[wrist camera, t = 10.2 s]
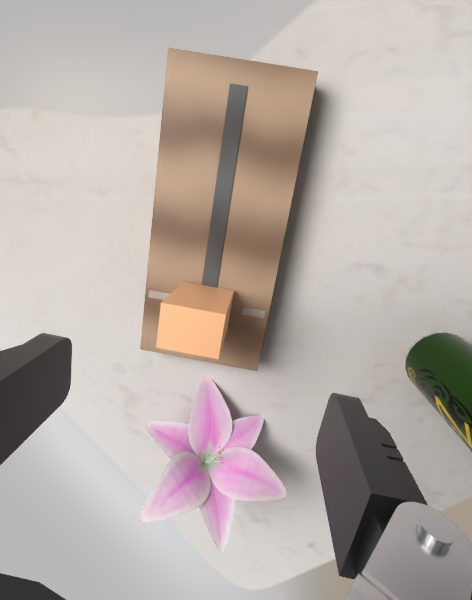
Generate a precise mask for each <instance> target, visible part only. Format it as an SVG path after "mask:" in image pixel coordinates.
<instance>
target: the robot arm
mask: <svg viewBox="0 0 472 600" xmlns="http://www.w3.org/2000/svg"><path fill="white" fill-rule="evenodd" d="M71 358H72V343H71V340H70V339H69V338H65V337H61V336H56V335H51V334H46V333H42V334H40V335H38V336H36V337H35V338H33V339H31V340H29V341H28V342H26V343H24V344H23V345H19V346H16V347H13V348H9V349H6V350H3V351H0V465H1V464H2V463H3V462H4V461H5V460H6V459H7V458H8V457H9V456H10V455H11V454H12V453H13V452H14V451H15V450H16V449H17V448H18V447H19V446H20V445H21V444H22V443H23V442H24V441H25V440H26V439H27V438H28V437H29V436H30V435H31V434H32V433H33V432H34V431H35V430H36V429H37V428H38V427H39V426H40V425H41V424H42V423H43V422H44V421H45V420H46V419H47V418H48V417H49V416H50V415H51V414H52V413H53V412H54V411H55V410H56V409H57V408H58V407H59V406H60V405H61V404H62V403H63V402H64V400H65V399H66V397H67V395H68V392H69V389H70V384H71ZM316 459H317V464H318V470H319V475H320V480H321V485H322V490H323V495H324V500H325V505H326V511H327V516H328V521H329V526H330V531H331V536H332V541H333V546H334V552H335V557H336V561H337V567H338V572H339V575H340V576H342V577H346V578H351V579H355V580H354V582H353V584H352V586H351V588H350V589H349V591H348V593H347V595H346V597H345V598H344V600H472V544H471V542H470V540H469V539H468V538H467V537H466V535H465V534H464V533H463V532H462V530H460V528H459V527H458V526H457V525H456V524H455V523H454V522H452V521H451V520H450V519H449V518H448V517H446V516H445V515H443V514H442V513H441V512H439V511H437V510H435V509H434V508H431V507H429V506H428V505H427V503H426V501H425V499H424V497H423V495H422V493H421V491H420V490H419V488H418V486H417V484H416V482H415V480H414V478H413V476H412V474H411V473H410V471H409V469H408V467H407V465H406V463H405V462H403V458H402V456H401V454H400V452H399V450H397V446H396V444H395V442H394V441H393V439H392V437H391V435H390V433H389V432H388V431H387V430H386V429H385V428H384V427H383V426H382V425H381V424H380V423H379V422H378V421H377V420H376V419H373V418H369V417H368V415H367V413H366V411H365V409H364V407H363V405H362V402H361V400H360V399H359V398H356V397H351V396H346V395H342V394H337V393H332V394H331V396H330V398H329V400H328V404H327V407H326V410H325V414H324V417H323V420H322V423H321V427H320V430H319V433H318V437H317V443H316ZM0 600H65V599H64V598H62V597H61V596H59V595H58V594H56V593H55V592H53V591H52V590H50V589H49V588H47V587H46V586H44V585H43V584H41V583H39V582H35V581H31V580H27V579H23V578H18V577H14V576H9V575H5V574H1V573H0Z"/></svg>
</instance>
